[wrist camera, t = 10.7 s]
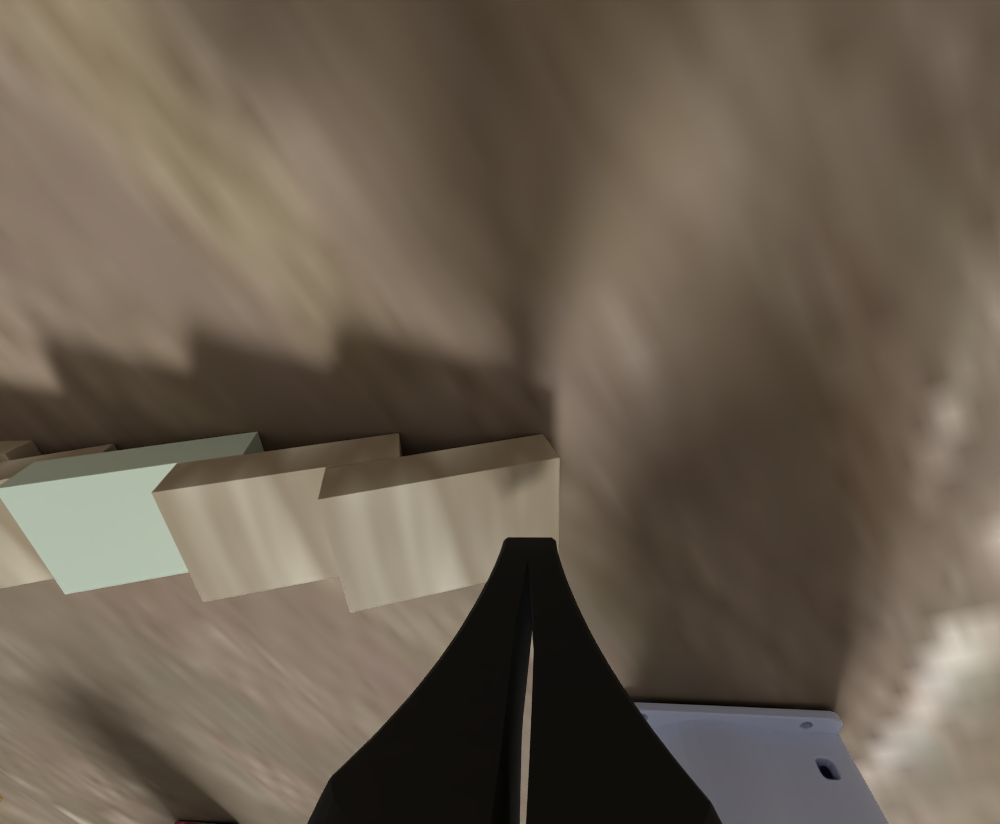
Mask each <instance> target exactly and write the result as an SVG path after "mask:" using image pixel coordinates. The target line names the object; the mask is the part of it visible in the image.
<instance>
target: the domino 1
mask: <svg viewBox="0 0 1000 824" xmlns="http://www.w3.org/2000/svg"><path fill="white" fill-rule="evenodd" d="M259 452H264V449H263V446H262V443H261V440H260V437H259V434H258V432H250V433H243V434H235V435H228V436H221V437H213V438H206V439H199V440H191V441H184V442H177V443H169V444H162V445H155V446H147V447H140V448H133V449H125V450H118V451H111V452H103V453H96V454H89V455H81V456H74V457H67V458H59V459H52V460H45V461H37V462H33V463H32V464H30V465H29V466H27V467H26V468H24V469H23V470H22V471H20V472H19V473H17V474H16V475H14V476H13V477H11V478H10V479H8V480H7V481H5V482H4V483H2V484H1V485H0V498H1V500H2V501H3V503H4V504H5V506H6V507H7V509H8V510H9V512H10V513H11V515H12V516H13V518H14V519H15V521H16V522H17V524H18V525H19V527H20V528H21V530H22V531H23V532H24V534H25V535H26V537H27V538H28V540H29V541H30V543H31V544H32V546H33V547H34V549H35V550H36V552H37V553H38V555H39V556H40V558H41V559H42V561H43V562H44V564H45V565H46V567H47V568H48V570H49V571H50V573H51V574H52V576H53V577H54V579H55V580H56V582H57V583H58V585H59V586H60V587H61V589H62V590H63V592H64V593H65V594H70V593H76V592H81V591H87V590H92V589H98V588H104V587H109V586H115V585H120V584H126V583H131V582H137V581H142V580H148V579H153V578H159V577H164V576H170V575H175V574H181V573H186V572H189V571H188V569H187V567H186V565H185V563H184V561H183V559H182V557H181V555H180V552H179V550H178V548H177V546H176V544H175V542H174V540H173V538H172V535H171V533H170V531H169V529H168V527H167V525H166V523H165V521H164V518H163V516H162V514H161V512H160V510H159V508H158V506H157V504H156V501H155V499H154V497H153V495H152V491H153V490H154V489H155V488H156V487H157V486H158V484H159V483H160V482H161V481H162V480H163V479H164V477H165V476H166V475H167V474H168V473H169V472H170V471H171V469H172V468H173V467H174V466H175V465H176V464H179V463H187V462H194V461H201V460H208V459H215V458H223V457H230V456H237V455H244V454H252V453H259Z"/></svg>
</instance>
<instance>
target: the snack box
mask: <svg viewBox="0 0 1000 824" xmlns="http://www.w3.org/2000/svg"><path fill="white" fill-rule="evenodd" d="M174 824H215V823H200V822H186V821H177V822H175V823H174Z"/></svg>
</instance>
